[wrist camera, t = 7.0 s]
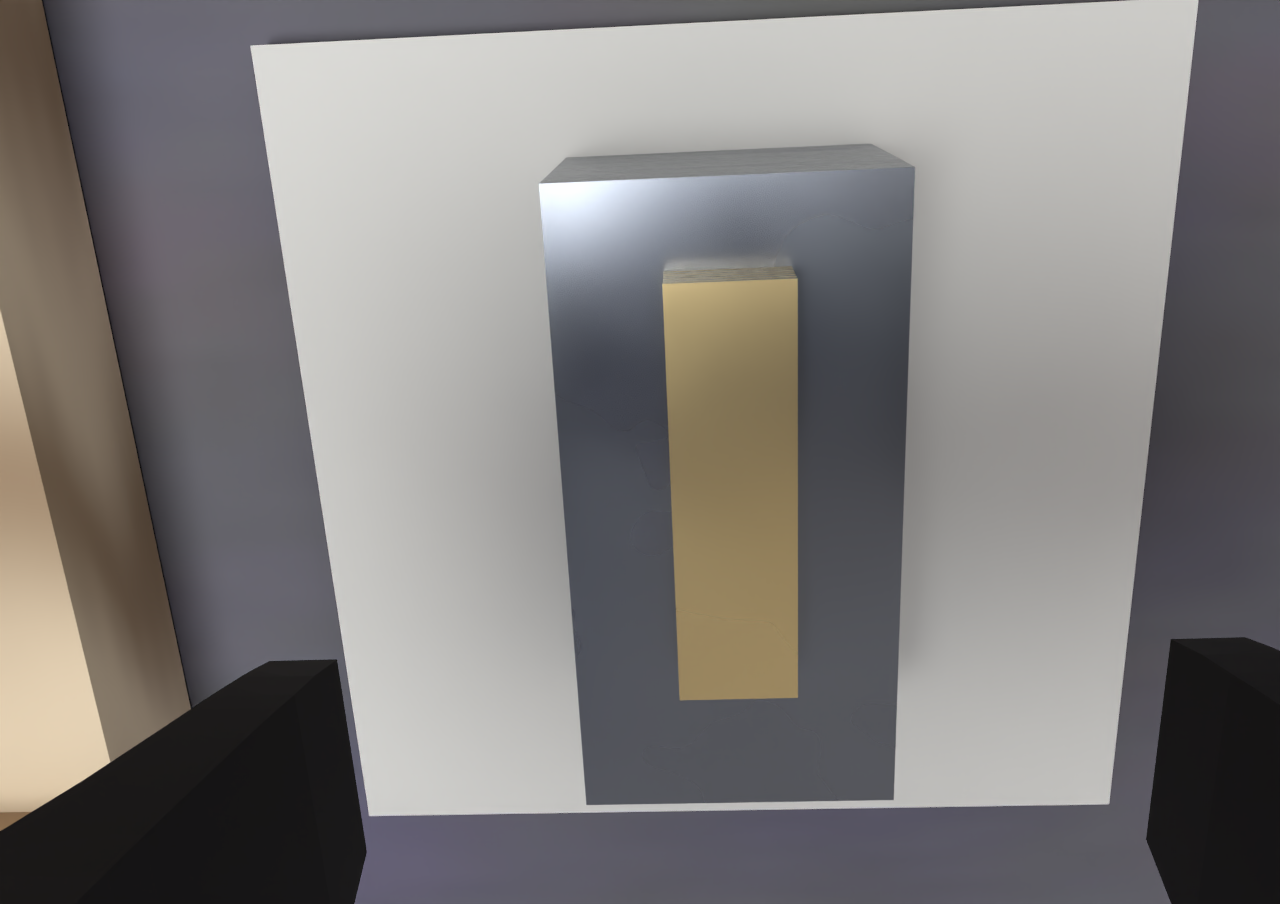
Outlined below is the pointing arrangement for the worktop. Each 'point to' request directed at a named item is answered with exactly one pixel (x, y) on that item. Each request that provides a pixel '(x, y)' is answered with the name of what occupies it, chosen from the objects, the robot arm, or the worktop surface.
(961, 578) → the white base plate
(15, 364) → the wooden block stand
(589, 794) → the lever cap
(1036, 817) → the worktop surface
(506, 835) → the worktop surface
